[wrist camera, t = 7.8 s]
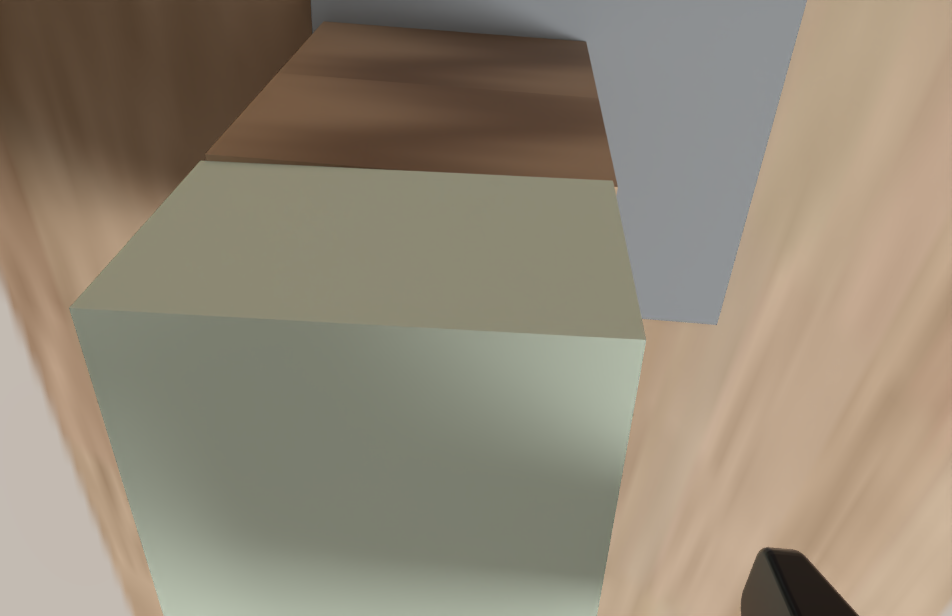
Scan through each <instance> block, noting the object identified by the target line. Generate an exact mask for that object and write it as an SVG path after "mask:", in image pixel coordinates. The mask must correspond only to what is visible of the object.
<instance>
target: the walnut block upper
mask: <svg viewBox="0 0 952 616" xmlns="http://www.w3.org/2000/svg"><path fill="white" fill-rule="evenodd" d="M205 158H206V161H219V162H240V163H260V164H281V165H301V166H322V167H343V168H363V169H384V170H404V171H425V172H445V173H466V174H487V175H507V176H528V177H548V178H569V179H589V180H610V181H613V183H614V188H615V193H616V195H617V189H618V185H617V181H616V176H615V172H614V167H613V162H612V158H611V153H610V149H609V144H608V139H607V135H606V130H605V126H604V121H603V116H602V112H601V107H600V103H599V98H590V97H578V96H565V95H552V94H539V93H527V92H514V91H501V90H488V89H475V88H463V87H450V86H437V85H424V84H412V83H399V82H386V81H373V80H361V79H348V78H335V77H322V76H309V75H297V74H284V73H277V74H276V75H275V76H274V77H273V79H272V80H271V81H270V82H269V83H268V84H267V85H266V86H265V88H264V89H263V90H262V91H261V92H260V93H259V94H258V95H257V96H256V98H255V99H254V100H253V101H252V102H251V103H250V104H249V105H248V107H247V108H246V109H245V110H244V111H243V112H242V113H241V114H240V116H239V117H238V118H237V119H236V120H235V121H234V122H233V123H232V124H231V126H230V127H229V128H228V129H227V130H226V131H225V132H224V133H223V135H222V136H221V137H220V138H219V139H218V140H217V141H216V142H215V143H214V145H213V146H212V147H211V148H210V149H209V150H208V151H207V152H206V154H205Z"/></svg>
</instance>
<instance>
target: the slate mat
mask: <svg viewBox="0 0 952 616" xmlns="http://www.w3.org/2000/svg"><path fill="white" fill-rule="evenodd" d="M806 2H807V0H311V16H312V34H313V33H314V32H315V30H316V29H317V28H318V27H319V26H320V25H321V24H322V23H323V21H325V22H338V23H351V24H364V25H377V26H390V27H403V28H416V29H429V30H442V31H455V32H468V33H481V34H494V35H507V36H520V37H533V38H546V39H559V40H572V41H584V42H586V43H587V47H588V52H589V57H590V61H591V66H592V70H593V75H594V80H595V84H596V89H597V93H598V98H599V103H600V107H601V112H602V116H603V121H604V126H605V130H606V135H607V139H608V144H609V149H610V153H611V158H612V162H613V167H614V172H615V176H616V181H617V185H618V189H617V195H616V198H617V202H618V207H619V212H620V217H621V222H622V226H623V231H624V236H625V241H626V246H627V250H628V255H629V260H630V265H631V270H632V274H633V279H634V284H635V289H636V294H637V298H638V303H639V308H640V313H641V318H642V319H653V320H665V321H677V322H689V323H701V324H713V325H717V322H718V319H719V315H720V311H721V308H722V304H723V301H724V297H725V293H726V290H727V286H728V283H729V279H730V276H731V272H732V268H733V265H734V261H735V258H736V254H737V250H738V247H739V243H740V240H741V236H742V232H743V229H744V225H745V222H746V218H747V214H748V211H749V207H750V204H751V200H752V196H753V193H754V189H755V186H756V182H757V178H758V175H759V171H760V168H761V164H762V160H763V157H764V153H765V150H766V146H767V142H768V139H769V135H770V132H771V128H772V124H773V121H774V117H775V114H776V110H777V106H778V103H779V99H780V96H781V92H782V88H783V85H784V81H785V78H786V74H787V70H788V67H789V63H790V60H791V56H792V52H793V49H794V45H795V42H796V38H797V34H798V31H799V27H800V24H801V20H802V16H803V13H804V9H805V6H806Z"/></svg>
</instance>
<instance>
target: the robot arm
mask: <svg viewBox="0 0 952 616" xmlns="http://www.w3.org/2000/svg"><path fill="white" fill-rule="evenodd" d="M741 616H859V615H858V614H857V613H856V612H855V611H854V610H853V608H852V607H851V606H850V605H849V604H848V603H847V602H846V601H845V600H844V598H843V597H842V596H841V595H840V594H839V593H838V592H837V591H836V590H835V589H834V587H833V586H832V585H831V584H830V583H829V582H828V581H827V580H826V579H825V577H824V576H823V575H822V574H821V573H820V572H819V571H818V570H817V569H816V567H815V566H814V565H813V564H812V563H811V562H810V561H809V560H808V559H807V558H806V557H805V556H804V555H803V554H802V553H800V552H799V551H797V550H793V549H782V548H770V547H766V548H763V549H761V550H760V551H759V553H758V554H757V556H756V559H755V562H754V564H753V567H752V569H751V572H750V574H749V577H748V580H747V582H746V585H745V587H744V590H743V593H742V598H741Z"/></svg>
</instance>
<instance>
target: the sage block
mask: <svg viewBox="0 0 952 616" xmlns="http://www.w3.org/2000/svg"><path fill="white" fill-rule="evenodd" d="M69 309H70V313H71V316H72V319H73V322H74V326H75V329H76V332H77V335H78V339H79V342H80V345H81V348H82V352H83V355H84V358H85V361H86V365H87V368H88V371H89V374H90V378H91V381H92V384H93V387H94V391H95V394H96V397H97V400H98V404H99V407H100V410H101V413H102V417H103V420H104V423H105V426H106V430H107V433H108V436H109V439H110V443H111V446H112V449H113V452H114V456H115V459H116V462H117V465H118V469H119V472H120V475H121V478H122V482H123V485H124V488H125V491H126V495H127V498H128V501H129V504H130V508H131V511H132V514H133V517H134V521H135V524H136V527H137V530H138V534H139V537H140V540H141V543H142V547H143V550H144V553H145V556H146V560H147V563H148V566H149V569H150V573H151V576H152V579H153V582H154V586H155V589H156V592H157V595H158V599H159V602H160V605H161V608H162V612H163V615H164V616H597V613H598V607H599V601H600V596H601V590H602V585H603V579H604V573H605V568H606V562H607V557H608V551H609V545H610V540H611V534H612V529H613V523H614V517H615V512H616V506H617V501H618V495H619V489H620V484H621V478H622V473H623V467H624V461H625V456H626V450H627V445H628V439H629V433H630V428H631V422H632V417H633V411H634V405H635V400H636V394H637V389H638V383H639V377H640V372H641V366H642V361H643V355H644V349H645V344H646V337H645V332H644V327H643V322H642V318H641V313H640V308H639V303H638V298H637V294H636V289H635V284H634V279H633V274H632V270H631V265H630V260H629V255H628V250H627V246H626V241H625V236H624V231H623V226H622V222H621V217H620V212H619V207H618V202H617V198H616V193H615V188H614V183H613V181H610V180H589V179H569V178H548V177H528V176H507V175H487V174H466V173H445V172H425V171H404V170H384V169H363V168H343V167H322V166H301V165H281V164H260V163H240V162H219V161H200V162H199V163H198V164H197V165H196V166H195V167H194V168H193V169H192V171H191V172H190V173H189V174H188V175H187V176H186V177H185V178H184V180H183V181H182V182H181V183H180V184H179V185H178V186H177V187H176V189H175V190H174V191H173V192H172V193H171V194H170V195H169V196H168V198H167V199H166V200H165V201H164V202H163V203H162V204H161V205H160V207H159V208H158V209H157V210H156V211H155V212H154V213H153V214H152V215H151V217H150V218H149V219H148V220H147V221H146V222H145V223H144V224H143V226H142V227H141V228H140V229H139V230H138V231H137V232H136V233H135V235H134V236H133V237H132V238H131V239H130V240H129V241H128V242H127V244H126V245H125V246H124V247H123V248H122V249H121V250H120V251H119V253H118V254H117V255H116V256H115V257H114V258H113V259H112V260H111V262H110V263H109V264H108V265H107V266H106V267H105V268H104V269H103V271H102V272H101V273H100V274H99V275H98V276H97V277H96V278H95V280H94V281H93V282H92V283H91V284H90V285H89V286H88V287H87V289H86V290H85V291H84V292H83V293H82V294H81V295H80V296H79V297H78V299H77V300H76V301H75V302H74V303H73V304H72V305H71V306H70V308H69Z"/></svg>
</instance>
